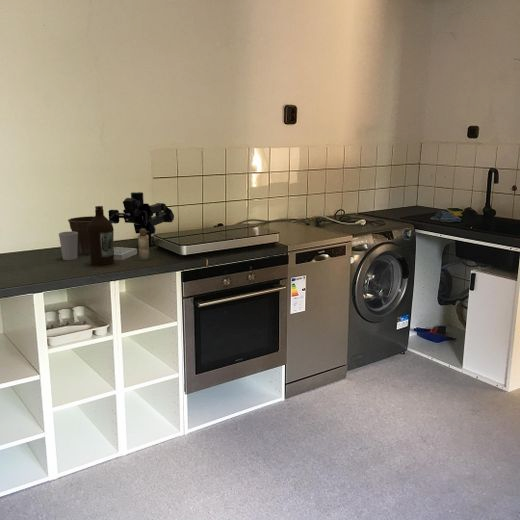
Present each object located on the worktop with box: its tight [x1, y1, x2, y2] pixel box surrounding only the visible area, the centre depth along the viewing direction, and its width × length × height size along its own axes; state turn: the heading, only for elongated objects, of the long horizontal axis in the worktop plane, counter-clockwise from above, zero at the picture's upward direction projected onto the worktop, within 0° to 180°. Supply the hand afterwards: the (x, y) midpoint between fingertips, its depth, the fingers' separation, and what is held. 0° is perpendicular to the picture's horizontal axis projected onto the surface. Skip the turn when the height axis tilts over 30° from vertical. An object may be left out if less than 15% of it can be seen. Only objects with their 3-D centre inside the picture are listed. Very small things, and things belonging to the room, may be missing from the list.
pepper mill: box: [137, 228, 150, 261], centre depth 256 cm, size 4×4×14 cm
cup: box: [58, 230, 78, 261], centre depth 257 cm, size 8×8×12 cm
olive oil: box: [87, 205, 115, 267], centre depth 246 cm, size 11×11×25 cm
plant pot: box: [67, 215, 95, 255], centre depth 271 cm, size 16×16×16 cm
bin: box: [114, 246, 138, 261], centre depth 263 cm, size 14×12×3 cm
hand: (119, 220), depth 262 cm, fingers open, 9 cm apart
